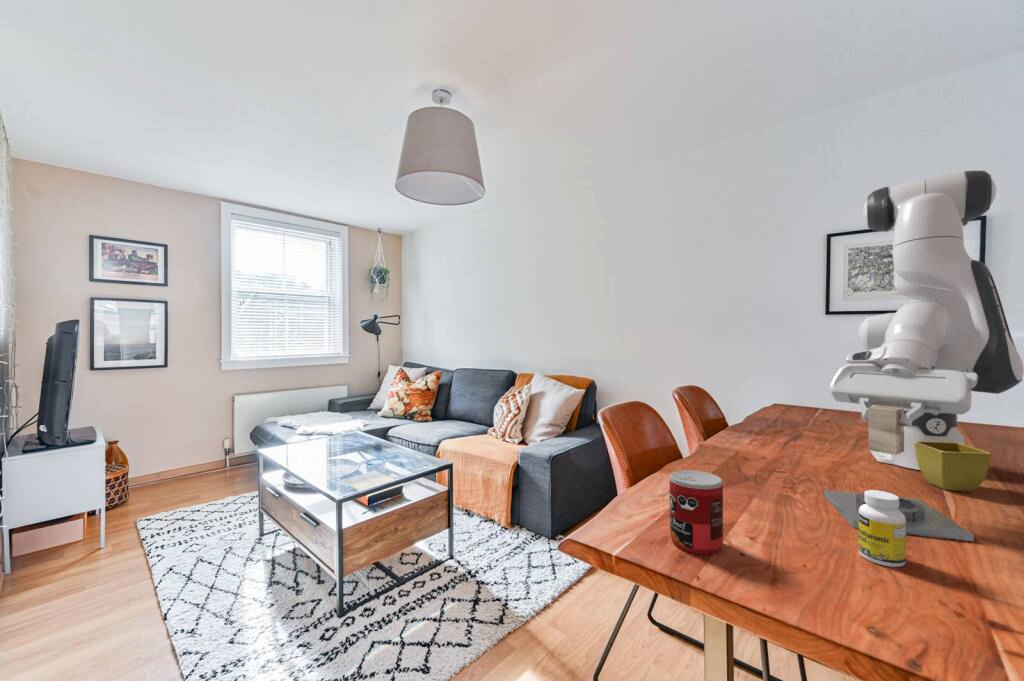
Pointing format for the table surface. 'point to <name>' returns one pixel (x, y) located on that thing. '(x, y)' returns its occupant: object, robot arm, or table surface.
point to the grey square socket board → (916, 513)
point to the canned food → (696, 511)
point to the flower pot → (952, 464)
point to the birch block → (885, 430)
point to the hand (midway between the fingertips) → (884, 422)
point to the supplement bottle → (882, 529)
